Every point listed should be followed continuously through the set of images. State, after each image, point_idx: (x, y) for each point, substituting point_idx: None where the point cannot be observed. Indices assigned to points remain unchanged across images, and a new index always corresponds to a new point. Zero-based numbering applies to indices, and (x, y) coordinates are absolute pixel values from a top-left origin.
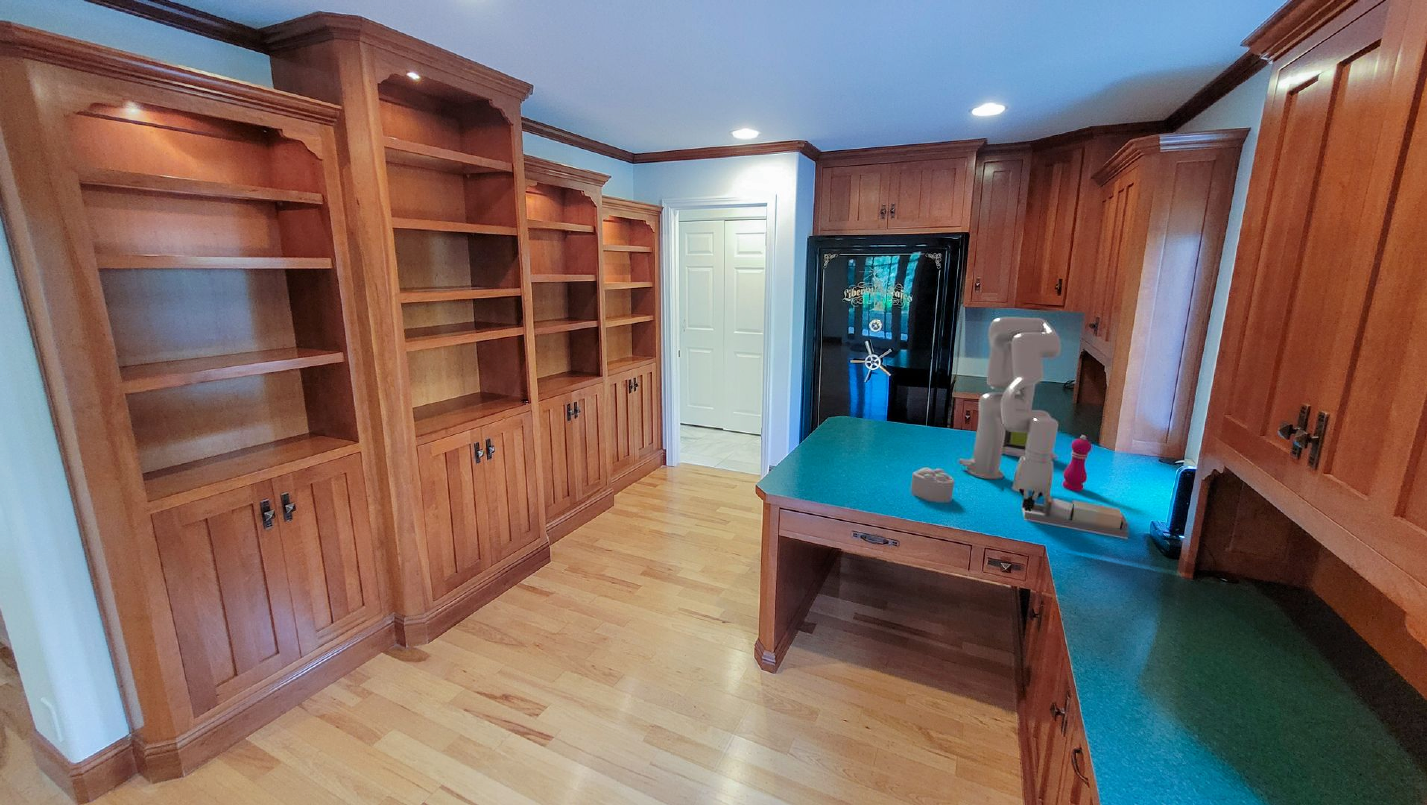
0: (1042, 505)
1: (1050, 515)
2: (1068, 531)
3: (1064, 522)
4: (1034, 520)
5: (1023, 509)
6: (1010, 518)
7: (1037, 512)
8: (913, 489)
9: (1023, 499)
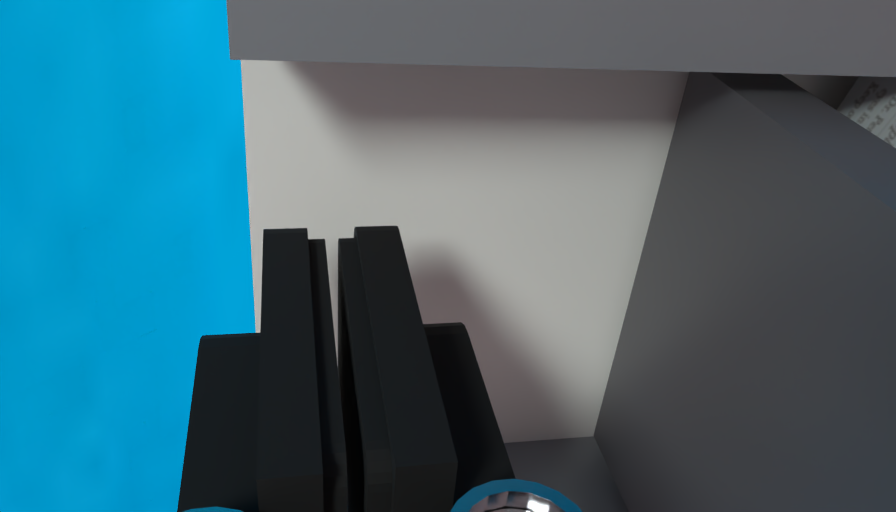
0: (761, 47)
1: None
2: None
3: None
4: None
5: (269, 123)
6: (46, 457)
7: (561, 155)
8: None
9: (187, 469)
